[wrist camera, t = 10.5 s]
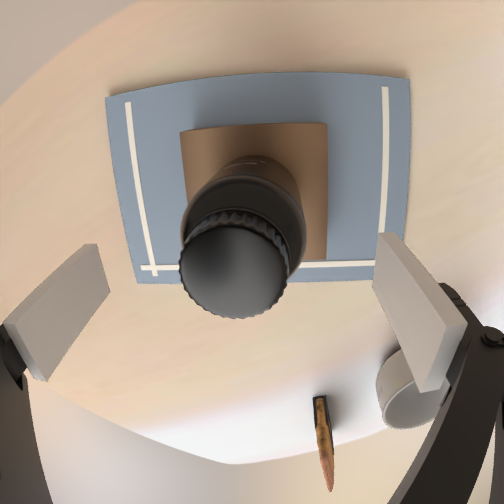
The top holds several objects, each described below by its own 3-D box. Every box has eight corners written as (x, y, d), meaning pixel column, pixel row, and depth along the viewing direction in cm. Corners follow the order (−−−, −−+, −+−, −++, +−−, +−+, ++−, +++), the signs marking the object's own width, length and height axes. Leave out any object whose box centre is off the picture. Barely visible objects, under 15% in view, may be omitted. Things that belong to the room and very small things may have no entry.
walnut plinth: (205, 243, 30) (195, 262, 27) (192, 129, 26) (179, 132, 22) (320, 240, 29) (326, 259, 26) (319, 122, 25) (327, 123, 21)
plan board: (140, 278, 34) (137, 283, 33) (109, 97, 25) (104, 97, 24) (394, 273, 31) (397, 278, 30) (405, 80, 23) (409, 79, 22)
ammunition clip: (331, 431, 44) (337, 492, 34) (320, 432, 45) (324, 494, 34) (325, 394, 40) (332, 467, 29) (312, 397, 41) (316, 469, 30)
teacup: (355, 364, 37) (366, 412, 30) (424, 316, 33) (448, 360, 26) (401, 403, 41) (412, 443, 34) (458, 364, 37) (477, 403, 30)
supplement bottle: (245, 135, 22) (213, 158, 11) (317, 190, 23) (350, 262, 12) (193, 205, 25) (132, 282, 14) (262, 254, 26) (250, 358, 15)
